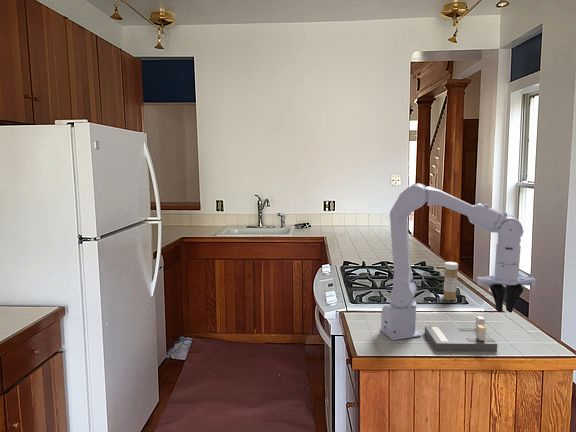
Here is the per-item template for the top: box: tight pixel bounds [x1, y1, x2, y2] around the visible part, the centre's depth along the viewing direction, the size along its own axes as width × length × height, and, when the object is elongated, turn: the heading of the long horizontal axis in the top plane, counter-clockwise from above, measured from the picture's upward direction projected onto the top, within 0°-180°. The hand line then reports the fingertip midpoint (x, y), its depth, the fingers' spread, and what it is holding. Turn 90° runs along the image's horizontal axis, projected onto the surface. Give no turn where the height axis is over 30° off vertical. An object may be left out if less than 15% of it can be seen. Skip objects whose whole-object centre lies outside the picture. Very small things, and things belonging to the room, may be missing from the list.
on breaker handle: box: [475, 315, 486, 328], centre depth 127 cm, size 2×2×3 cm, turn 178°
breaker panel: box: [424, 325, 498, 353], centre depth 125 cm, size 16×12×2 cm
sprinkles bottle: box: [442, 261, 459, 301], centre depth 160 cm, size 5×5×13 cm
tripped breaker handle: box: [476, 325, 487, 340], centre depth 121 cm, size 2×2×3 cm, turn 178°
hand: (503, 311), depth 119 cm, fingers open, 2 cm apart
